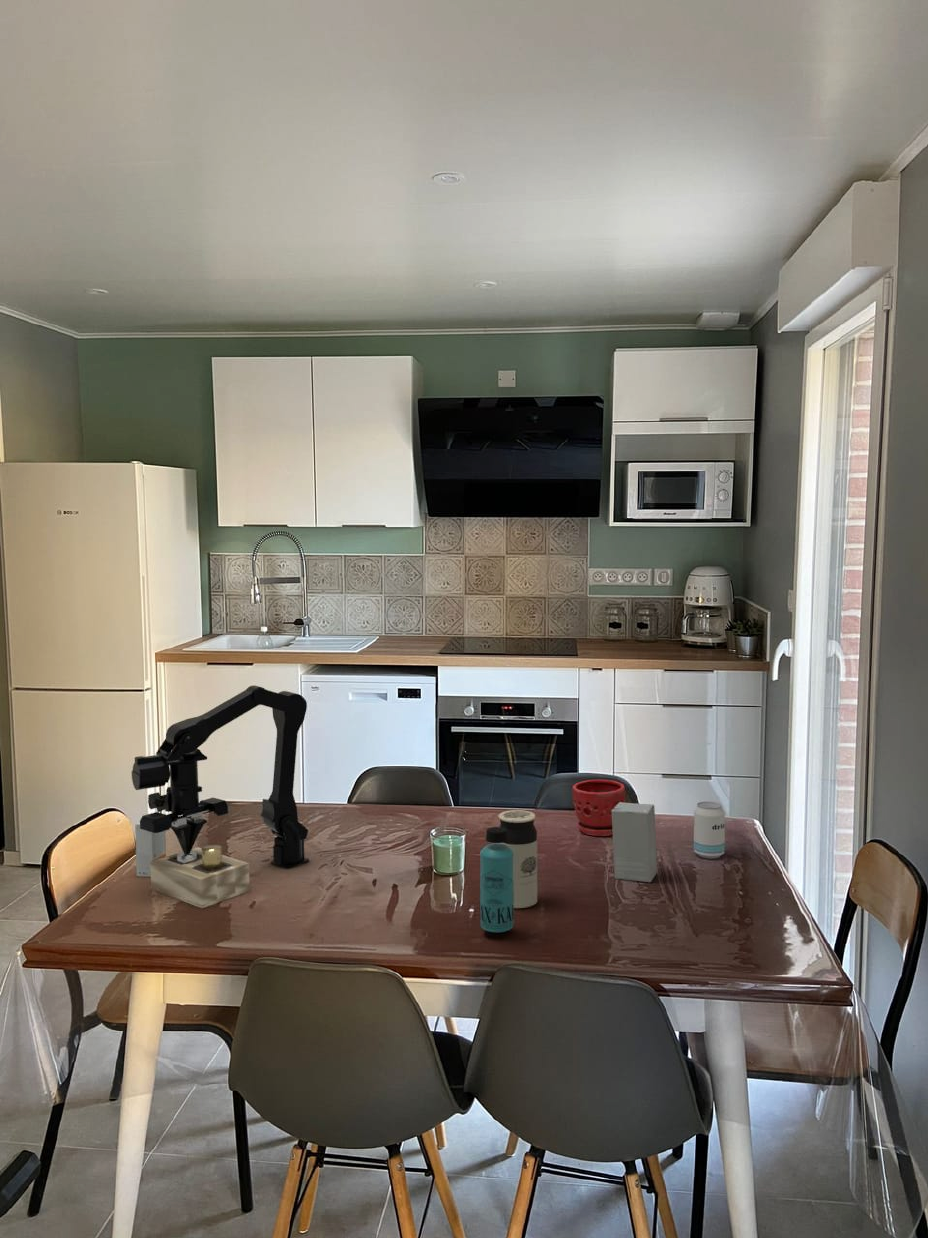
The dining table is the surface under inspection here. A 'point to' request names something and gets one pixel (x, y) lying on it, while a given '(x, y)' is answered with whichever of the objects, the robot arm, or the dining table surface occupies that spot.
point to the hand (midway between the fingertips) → (186, 853)
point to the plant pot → (597, 805)
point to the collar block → (199, 879)
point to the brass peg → (211, 857)
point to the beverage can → (709, 830)
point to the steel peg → (186, 857)
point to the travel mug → (522, 854)
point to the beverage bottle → (496, 883)
